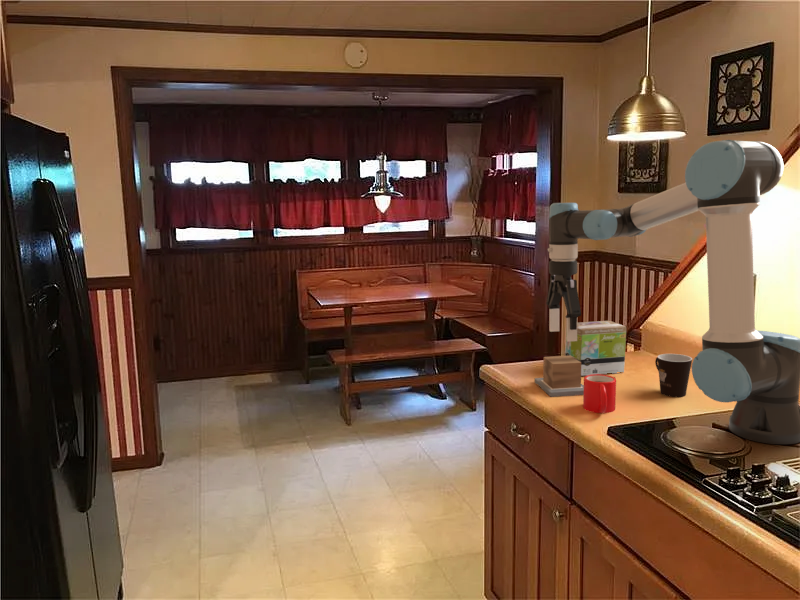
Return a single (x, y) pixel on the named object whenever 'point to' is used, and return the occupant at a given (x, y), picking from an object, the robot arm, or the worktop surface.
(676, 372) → the coffee mug
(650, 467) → the worktop surface
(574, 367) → the walnut block
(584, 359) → the tea box
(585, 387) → the mug
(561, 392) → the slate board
